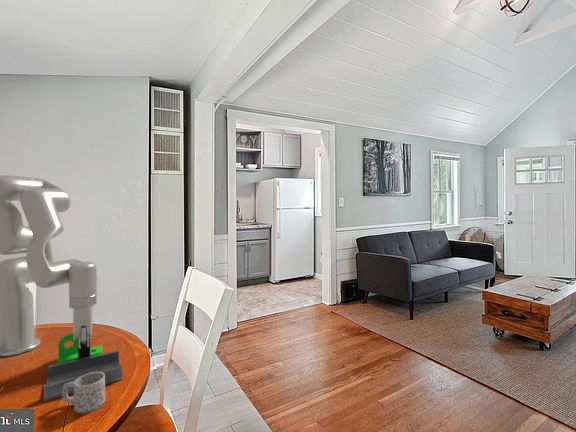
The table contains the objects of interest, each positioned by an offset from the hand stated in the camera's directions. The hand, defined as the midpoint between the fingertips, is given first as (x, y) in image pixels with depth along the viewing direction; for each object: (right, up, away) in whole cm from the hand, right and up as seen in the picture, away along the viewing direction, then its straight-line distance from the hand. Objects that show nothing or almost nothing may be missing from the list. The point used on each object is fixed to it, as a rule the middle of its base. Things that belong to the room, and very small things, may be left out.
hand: (84, 354), depth 103 cm
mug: (+15, -3, -23) cm, 28 cm away
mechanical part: (-1, -1, 0) cm, 2 cm away
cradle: (+8, -2, -11) cm, 14 cm away
